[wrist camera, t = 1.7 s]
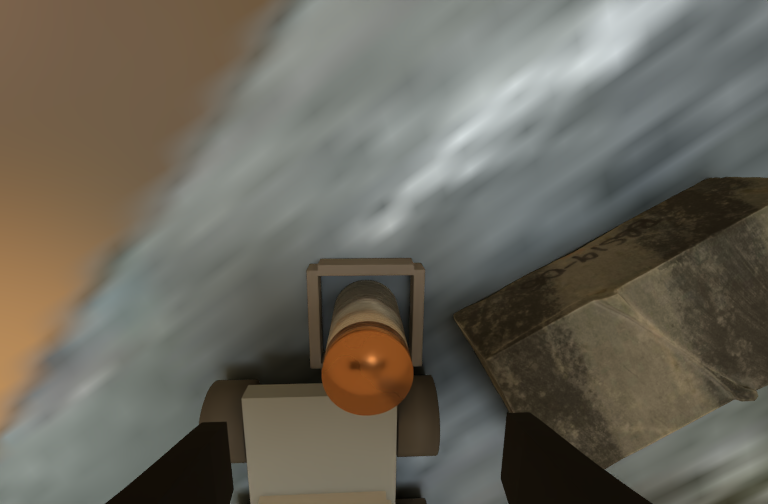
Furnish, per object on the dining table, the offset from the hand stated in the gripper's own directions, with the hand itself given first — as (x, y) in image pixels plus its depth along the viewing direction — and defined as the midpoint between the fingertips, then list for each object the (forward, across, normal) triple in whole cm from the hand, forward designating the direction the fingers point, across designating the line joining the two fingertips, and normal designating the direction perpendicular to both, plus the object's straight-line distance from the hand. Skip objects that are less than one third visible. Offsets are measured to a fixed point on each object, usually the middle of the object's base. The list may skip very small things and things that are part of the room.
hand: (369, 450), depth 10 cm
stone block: (+10, -13, +1) cm, 16 cm away
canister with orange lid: (+10, 0, 0) cm, 10 cm away
